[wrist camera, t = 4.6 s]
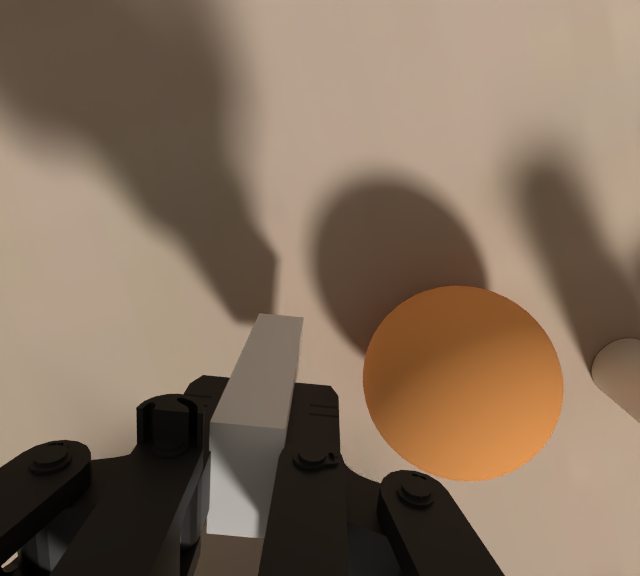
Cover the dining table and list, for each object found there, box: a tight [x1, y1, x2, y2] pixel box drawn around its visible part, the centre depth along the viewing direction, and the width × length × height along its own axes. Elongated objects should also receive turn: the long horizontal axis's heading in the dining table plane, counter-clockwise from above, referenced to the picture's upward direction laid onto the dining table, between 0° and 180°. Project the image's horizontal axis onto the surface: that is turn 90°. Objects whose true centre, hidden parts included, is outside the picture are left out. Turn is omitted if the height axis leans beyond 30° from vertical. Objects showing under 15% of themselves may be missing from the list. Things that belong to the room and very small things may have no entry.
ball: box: [363, 286, 563, 481], centre depth 15 cm, size 6×6×6 cm
